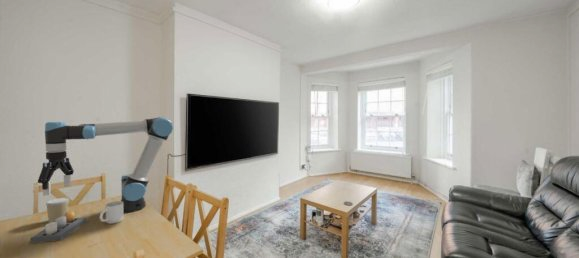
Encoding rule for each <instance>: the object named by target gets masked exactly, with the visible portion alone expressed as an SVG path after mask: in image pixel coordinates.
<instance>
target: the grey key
mask: <svg viewBox="0 0 579 258" xmlns="http://www.w3.org/2000/svg"><path fill="white" fill-rule="evenodd" d="M55 220H56V222H57V229H61V228H64V227H66V216H62V217H58V218H56V219H55Z"/></svg>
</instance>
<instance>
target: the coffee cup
mask: <svg viewBox="0 0 579 258" xmlns="http://www.w3.org/2000/svg"><path fill="white" fill-rule="evenodd" d="M45 206H46V210H47V218H48V223H51V222H56V220H55V219H56V218H58V217H62V216H65V213H67V212H69V208H70V199H69V197H59V198H53V199H50V200H48V201H47V202H46V205H45Z"/></svg>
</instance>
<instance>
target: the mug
mask: <svg viewBox="0 0 579 258" xmlns="http://www.w3.org/2000/svg"><path fill="white" fill-rule="evenodd" d="M124 213H125V212H124V208H123V202H122V201H121V200H117V201H112V202H109V203H107V204H105V208H104V209H102V210H101V211H100V213H99V220H100V222H103V223H104V222H105V223H107V224H111V225H112V224H117V223H120V222H121V221H123V220H124ZM104 214H105V218H104V217H103V216H104Z"/></svg>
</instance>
